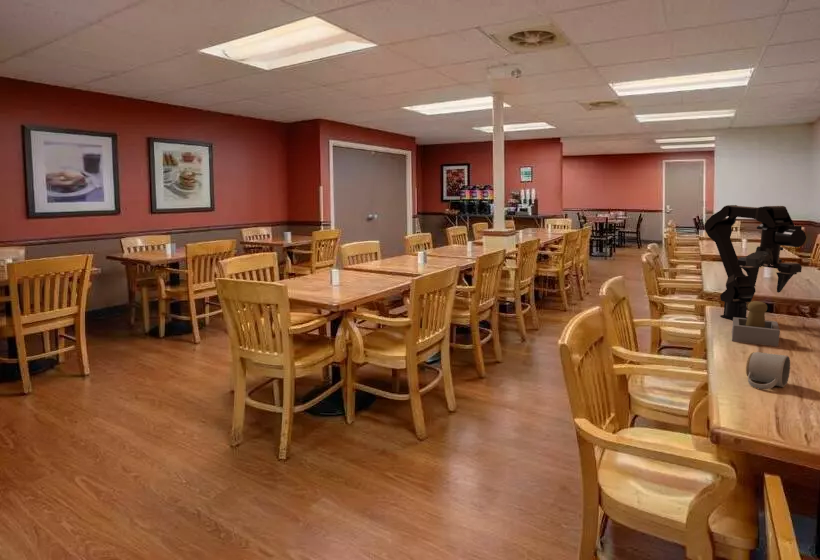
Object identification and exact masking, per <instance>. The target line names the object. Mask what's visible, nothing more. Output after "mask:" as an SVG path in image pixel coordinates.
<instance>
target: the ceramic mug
mask: <svg viewBox="0 0 820 560" xmlns="http://www.w3.org/2000/svg"><path fill="white" fill-rule="evenodd" d="M790 372H791V360H790V356H788V355H785V354H776V353H767V352H758V351H755V352H754V351H753V352H751V353H750V354H749V356H748V357H747V360H746V365H745V374H746V376H747V382H748V384H749V385H750V386H751V387H752V386H753V387H752V388H754V387H756V388H755V389H757V388H759V389H758V390H762V389H765V390H770V389H772V388H774V387H775V386H776V387H779V388H785V387H784V386H785V385H786V386H787V384H788V381H789V378H790ZM754 381H756V382H760V383H756V382H754ZM761 383H763V384H761Z"/></svg>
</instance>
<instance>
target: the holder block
mask: <svg viewBox="0 0 820 560" xmlns="http://www.w3.org/2000/svg"><path fill="white" fill-rule="evenodd" d="M746 322H747V318H737V317H733V320H732V328H731V341H732V342H737V343H743V344H744V343H746V344H752V345H753V344H754V345H761V344H762V345H761V346H769V345H771V346H770V347H777V346H778V347H779V341H780V333H781V330H780V327H779V324H778V321H775V320H774V321H773V320H766V319H765V328H761V327H752V326H746Z"/></svg>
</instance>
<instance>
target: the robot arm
mask: <svg viewBox="0 0 820 560" xmlns="http://www.w3.org/2000/svg"><path fill="white" fill-rule="evenodd" d="M737 218H744V219H745V218H747V219H753V220H756V221H757V222H759V223H760V225H758V226H756V229H757V230H761V234H760V243H759V245H760V246H756V248H755V249H756V250H755V251H754V252H752V253H750V254H748V255H746V256H742V257H738V256H737V252H736V250H735V247H734V244H733V242H732V239H731V237H732V233H733V228H732V227H733V226H734V225H735V224H736V223H737V222H736V221H737ZM703 226H704V231H705V233H706V235H707V236H708V238H709V239H711V240H712V241H713V242H714V243H715V245H716V249H717V251H718V254H719V256H720V258H721V259H720V260H721V262H722V265H723V268H724V270H725V273H726V276H727V279H726V283H725V288H726V289H725V290H723V292H722V293H721V294H720V296H719V297H720V301H722V302H724V304H723V305H724V307H723V314H722V315H721V314H720V315H719V317H721V318H725V319H729V320H732V321H733V317H737V318H748V316H747V312H748V311H747V310H748V306H747V305H748V304H747V303H750V302H752V300H753V298H754V296H755V294H756V287H757V285H756V283H757V280H758V279H757V278H758V275H759V270H760V268H761V267H765V268H768V269H769V268H770V269H777V270H778V271H777V272H775V273H776V275H777V285H776V293H781V292H782V290H783V289H784V288H785V286H786V284H788V282H789V281H790V280H791V278H792V277H793V276H794V275H797V274H798V273H802V270H803V269H802V264H801V263H797V262H790V261H788V262H782V261H783V260H782V258H781V259H780V255H781V254H780V253H781V251H783V250H784V247H783V246H785V247H790V248H792V247H793V248H800V247H802V246H804V244H805V243H806V240H807V235H806V233H805V231H804V230H803V229H802V228H803V227H802V225H795V224H794V221H793V219H792V217H791V215H790V213H789V212H788V209H787V207H786V206H785V205H767V206H766V205H764V206H758V207H755V206H744V205H743V206H742V205H736V204H735V205H734V204H731V205H730V204H729V205H725V206H723V207H722V208H721V209H720V210H719V211H717V212H715V213H713V214H712V215H711V216H710V217H709V218H708V219H706V221H705V223H704V225H703ZM743 270H744V271H743ZM744 272H745V273H746V274H745V273H744Z"/></svg>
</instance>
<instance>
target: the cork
mask: <svg viewBox="0 0 820 560" xmlns="http://www.w3.org/2000/svg"><path fill="white" fill-rule="evenodd" d="M747 310H748V314H747V317H748V318H747V322H746V326H752V327H761V328H765V320H766V316H765V315H766V312H767V310H768V305H767V303H765V302H763V301H759V300H754V301H752V300H751V302H748V304H747Z"/></svg>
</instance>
